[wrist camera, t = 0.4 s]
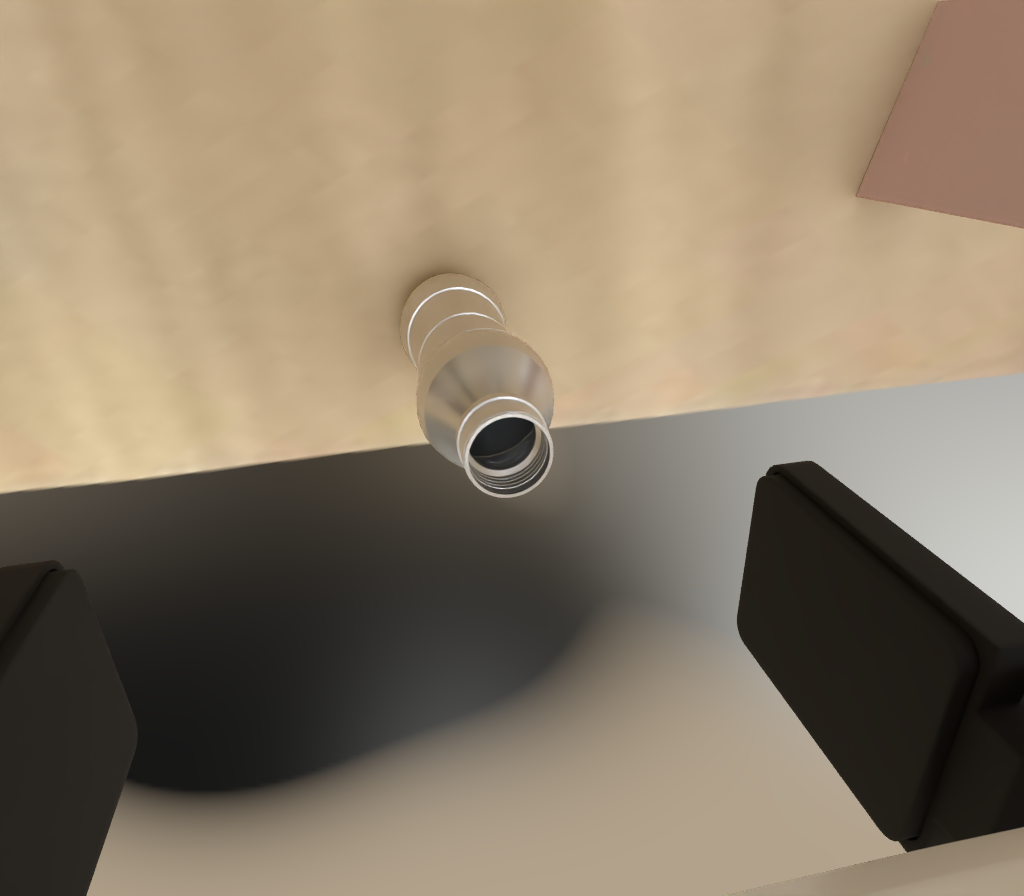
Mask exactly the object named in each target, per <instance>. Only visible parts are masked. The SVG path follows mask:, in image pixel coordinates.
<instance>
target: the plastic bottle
mask: <svg viewBox="0 0 1024 896" xmlns="http://www.w3.org/2000/svg"><path fill="white" fill-rule="evenodd" d="M400 337H401V341H402V344H403V348H404V350H405V352H406V354H407V356H408V358H409V359H410V360H411V362H412V363H413V365H414V366H415V367H416V369H417V370H418V371H419V374H420V376H419V381H418V388H417V414H418V418H419V422H420V426H421V428H422V430H423V432H424V434H425V436H426V438H427V439H428V441H429V442H430V443H431V445H432V446H433V447H434V448H435V449H436V450H437V451H438V452H440V453H441V454H442V455H443V456H444V457H446V458H447V459H448V460H449V461H451V462H453V463H455V464H457V465H458V466H460V467H463V468H465V470H466V472H467V475H468V477H469V478H470V479H471V481H472V482H473V483H474V485H475V486H477V487H478V488H479V489H480V490H481V491H483V492H485V493H487V494H489V495H492V496H495V497H502V498H508V497H515V496H519V495H522V494H525V493H527V492H529V491H530V490H532V489H533V488H535V487H536V486H537V485H538V484H539V483H540V482H541V481H542V480H543V479H544V477H545V476H546V475H547V473H548V471H549V469H550V467H551V464H552V460H553V444H552V439H551V436H550V434H549V432H548V429H549V427H550V424H551V420H552V415H553V403H554V391H553V384H552V379H551V377H550V374H549V371H548V369H547V367H546V365H545V364H544V362H543V361H542V359H541V358H540V357H539V355H538V354H537V353H536V352H535V351H534V350H533V349H532V348H531V347H529V346H528V345H527V344H526V343H525V342H523V341H522V340H520V339H519V338H517V337H516V336H514V335H512V334H511V333H509V332H508V331H507V327H506V321H505V317H504V312H503V310H502V307H501V305H500V302H499V301H498V299H497V298H496V296H495V294H494V293H493V292H492V291H491V290H490V289H489V288H488V287H487V286H486V285H484V284H483V283H481V282H480V281H478V280H476V279H474V278H472V277H469V276H466V275H461V274H456V273H444V274H440V275H436V276H433V277H431V278H429V279H427V280H425V281H424V282H423V283H421V284H420V285H418V287H417V288H416V289H415V290H414V291H413V292H412V293H411V295H410V297H409V298H408V300H407V302H406V304H405V306H404V309H403V312H402V315H401V322H400Z"/></svg>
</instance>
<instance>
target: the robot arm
mask: <svg viewBox="0 0 1024 896" xmlns="http://www.w3.org/2000/svg"><path fill="white" fill-rule="evenodd" d="M737 626H738V630H739V634H740V637H741V639H742V641H743V642H744V644H745V645H746V647H747V648H748V650H749V651H750V652H751V654H752V655H753V656H754V658H755V659H756V660H757V662H758V663H759V665H760V666H761V667H762V669H763V670H764V671H765V673H766V674H767V676H768V677H769V678H770V679H771V681H772V683H773V684H774V685H775V687H776V688H777V689H778V691H779V692H780V693H781V695H782V696H783V698H784V699H785V700H786V702H787V703H788V704H789V706H790V707H791V709H792V710H793V711H794V713H795V714H796V715H797V717H798V718H799V720H800V721H801V722H802V724H803V725H804V726H805V728H806V729H807V731H808V732H809V733H810V735H811V736H812V738H813V739H814V740H815V742H816V743H817V744H818V746H819V747H820V749H821V750H822V751H823V753H824V754H825V755H826V757H827V758H828V760H829V761H830V762H831V764H832V765H833V766H834V768H835V769H836V770H837V772H838V773H839V775H840V776H841V777H842V779H843V780H844V781H845V783H846V784H847V786H848V787H849V788H850V790H851V791H852V793H853V794H854V795H855V797H856V798H857V799H858V801H859V802H860V804H861V805H862V806H863V808H864V809H865V810H866V812H867V813H868V814H869V816H870V817H871V819H872V820H873V821H874V823H875V824H876V826H877V827H878V828H879V829H880V831H881V832H882V833H883V834H884V835H885V836H886V837H887V838H889V839H890V840H893V841H899V842H900V843H901V845H902V846H903V848H904V849H905V851H907V853H903V854H899V855H894V856H890V857H886V858H882V859H877V860H874V861H869V862H865V863H860V864H856V865H852V866H848V867H844V868H839V869H835V870H831V871H826V872H822V873H818V874H814V875H809V876H805V877H801V878H797V879H793V880H788V881H784V882H780V883H775V884H772V885H767V886H763V887H758V888H754V889H750V890H746V891H742V892H737V893H733V894H729V895H725V896H1024V623H1023V622H1022V621H1020V620H1019V619H1018V618H1017V617H1015V616H1014V615H1013V614H1011V613H1010V612H1009V611H1007V610H1006V609H1005V608H1004V607H1002V606H1001V605H1000V604H998V603H997V602H996V601H995V600H993V599H992V598H991V597H989V596H988V595H986V594H985V593H984V592H983V591H982V590H980V589H979V588H978V587H976V586H975V585H974V584H972V583H971V582H970V581H968V580H967V579H966V578H965V577H963V576H962V575H961V574H959V573H958V572H957V571H956V570H954V569H953V568H952V567H950V566H949V565H948V564H946V563H945V562H944V561H943V560H941V559H940V558H939V557H937V556H936V555H935V554H933V553H932V552H931V551H930V550H928V549H927V548H926V547H924V546H923V545H922V544H920V543H919V542H918V541H917V540H915V539H914V538H913V537H911V536H910V535H909V534H907V533H906V532H905V531H904V530H902V529H901V528H900V527H898V526H897V525H896V524H894V523H893V522H892V521H891V520H889V519H888V518H887V517H885V516H884V515H883V514H881V513H880V512H879V511H878V510H876V509H875V508H874V507H872V506H871V505H870V504H869V503H867V502H866V501H865V500H863V499H862V498H861V497H859V496H858V495H857V494H855V493H854V492H853V491H852V490H850V489H849V488H848V487H846V486H845V485H844V484H843V483H841V482H840V481H839V480H837V479H836V478H835V477H833V476H832V475H831V474H829V473H828V472H827V471H826V470H824V469H823V468H822V467H820V466H819V465H818V464H816V463H814V462H812V461H802V462H795V463H787V464H780V465H773V466H772V467H770V468H769V470H768V471H767V473H766V476H763V477H761V478H760V479H759V480H758V482H757V486H756V492H755V499H754V505H753V513H752V519H751V526H750V533H749V540H748V547H747V553H746V560H745V567H744V573H743V580H742V587H741V594H740V601H739V608H738V614H737ZM136 746H137V724H136V720H135V717H134V715H133V712H132V709H131V706H130V704H129V702H128V699H127V696H126V693H125V691H124V688H123V685H122V683H121V680H120V678H119V675H118V673H117V670H116V667H115V664H114V662H113V659H112V657H111V654H110V651H109V649H108V646H107V643H106V641H105V638H104V636H103V633H102V631H101V628H100V625H99V622H98V620H97V617H96V615H95V612H94V609H93V607H92V604H91V601H90V599H89V596H88V594H87V591H86V588H85V586H84V583H83V580H82V578H81V576H80V574H79V573H78V572H77V571H76V570H73V569H69V570H65V569H64V567H63V566H62V565H61V564H60V563H59V562H58V561H55V560H50V561H42V562H36V563H27V564H20V565H12V566H6V567H2V568H0V896H86V895H87V892H88V889H89V886H90V883H91V880H92V877H93V874H94V871H95V868H96V865H97V862H98V859H99V856H100V854H101V850H102V848H103V845H104V842H105V839H106V836H107V833H108V830H109V827H110V824H111V821H112V818H113V815H114V812H115V809H116V806H117V803H118V800H119V798H120V795H121V792H122V789H123V786H124V783H125V780H126V777H127V774H128V771H129V768H130V765H131V762H132V759H133V756H134V753H135V750H136Z"/></svg>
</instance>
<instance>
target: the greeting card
mask: <svg viewBox="0 0 1024 896" xmlns="http://www.w3.org/2000/svg"><path fill="white" fill-rule="evenodd" d="M856 196H857V197H862V198H867V199H872V200H878V201H883V202H888V203H893V204H899V205H904V206H909V207H914V208H920V209H925V210H930V211H935V212H941V213H946V214H951V215H956V216H962V217H967V218H972V219H977V220H983V221H988V222H993V223H998V224H1004V225H1009V226H1014V227H1019V228H1024V0H947V1H941V2H938V4H937V6H936V8H935V11H934V13H933V15H932V18H931V20H930V23H929V25H928V27H927V30H926V32H925V34H924V37H923V39H922V41H921V44H920V46H919V49H918V51H917V53H916V56H915V58H914V60H913V63H912V65H911V67H910V70H909V72H908V75H907V77H906V79H905V82H904V84H903V86H902V89H901V91H900V93H899V96H898V98H897V101H896V103H895V105H894V108H893V110H892V112H891V115H890V117H889V119H888V122H887V124H886V126H885V129H884V131H883V134H882V136H881V138H880V141H879V143H878V145H877V148H876V150H875V152H874V155H873V157H872V160H871V162H870V164H869V167H868V169H867V171H866V174H865V176H864V178H863V181H862V183H861V186H860V188H859V190H858V193H857V195H856Z"/></svg>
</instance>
